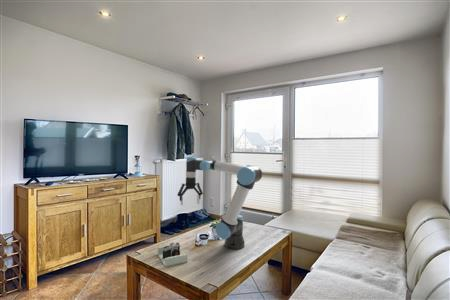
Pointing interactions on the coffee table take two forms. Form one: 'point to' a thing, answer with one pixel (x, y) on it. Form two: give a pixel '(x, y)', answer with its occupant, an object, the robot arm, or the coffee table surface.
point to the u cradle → (171, 258)
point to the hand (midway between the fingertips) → (190, 204)
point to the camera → (171, 250)
